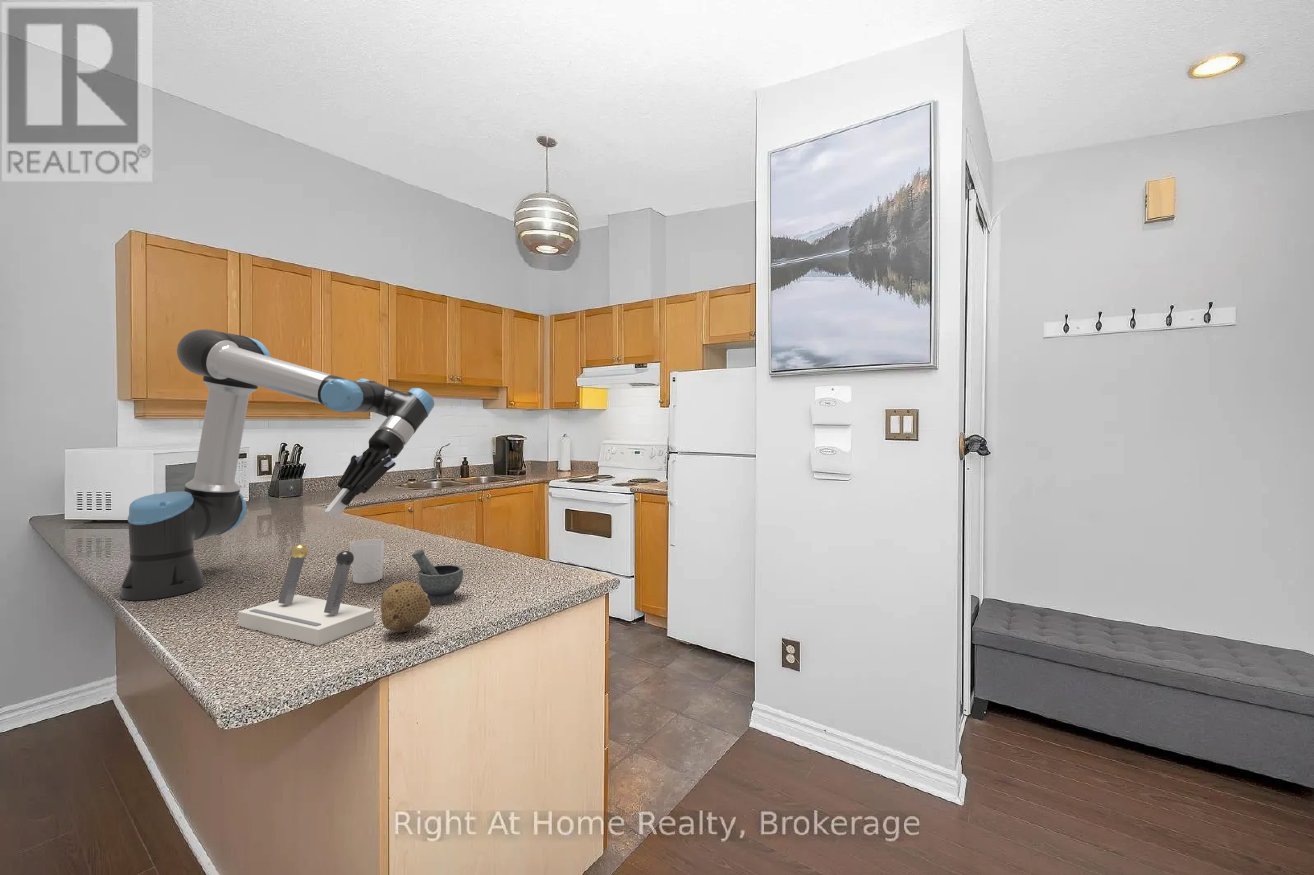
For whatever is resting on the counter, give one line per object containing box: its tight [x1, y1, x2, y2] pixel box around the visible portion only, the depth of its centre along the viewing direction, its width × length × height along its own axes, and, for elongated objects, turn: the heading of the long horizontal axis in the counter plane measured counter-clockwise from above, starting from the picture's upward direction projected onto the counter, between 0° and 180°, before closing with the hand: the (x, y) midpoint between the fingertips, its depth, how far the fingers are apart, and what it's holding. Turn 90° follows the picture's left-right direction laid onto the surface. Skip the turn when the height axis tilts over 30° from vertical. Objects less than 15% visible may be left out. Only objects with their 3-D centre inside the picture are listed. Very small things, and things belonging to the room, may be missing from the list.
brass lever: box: [278, 543, 309, 604], centre depth 119 cm, size 3×3×12 cm
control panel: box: [237, 594, 375, 647], centre depth 114 cm, size 12×24×3 cm, turn 67°
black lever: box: [324, 550, 354, 614], centre depth 113 cm, size 3×3×12 cm
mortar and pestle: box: [411, 548, 464, 605], centre depth 131 cm, size 11×9×12 cm
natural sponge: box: [380, 580, 432, 634], centre depth 111 cm, size 9×9×10 cm
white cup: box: [349, 538, 385, 585], centre depth 146 cm, size 8×8×10 cm
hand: (330, 514), depth 126 cm, fingers closed
